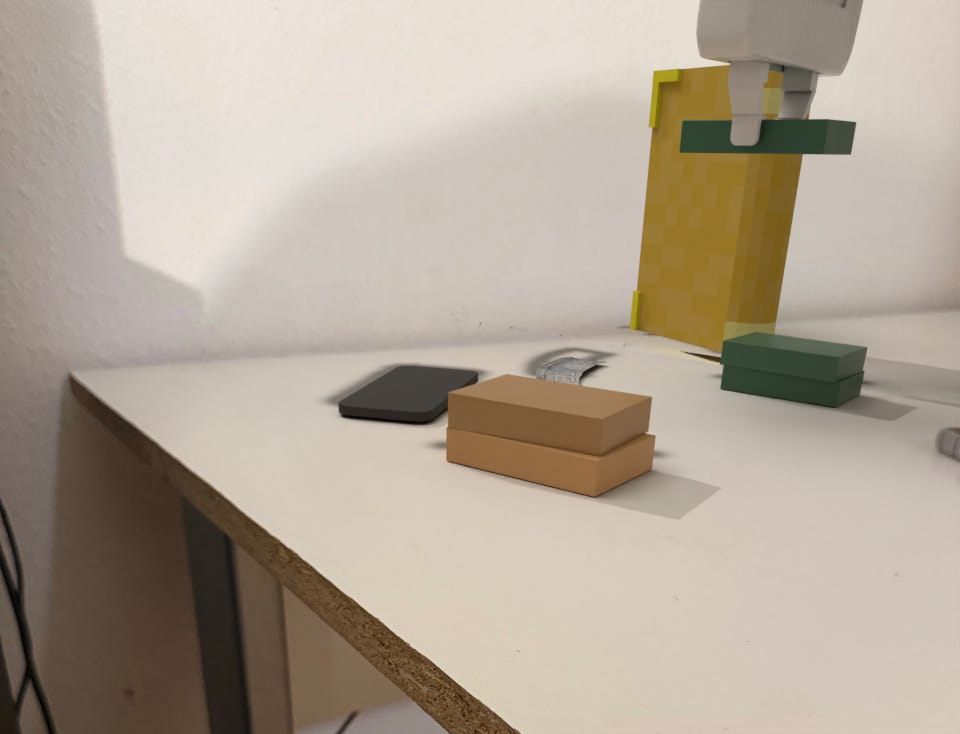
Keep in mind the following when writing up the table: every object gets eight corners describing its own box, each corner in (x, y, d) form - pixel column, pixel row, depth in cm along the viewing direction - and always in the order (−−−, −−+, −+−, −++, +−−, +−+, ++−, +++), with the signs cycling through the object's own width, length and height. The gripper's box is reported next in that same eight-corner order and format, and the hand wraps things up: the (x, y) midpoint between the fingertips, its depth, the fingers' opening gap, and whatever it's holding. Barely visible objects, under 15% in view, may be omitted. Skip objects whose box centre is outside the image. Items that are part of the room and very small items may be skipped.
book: (628, 337, 103) (653, 71, 92) (678, 334, 106) (708, 75, 95) (732, 367, 90) (776, 59, 79) (785, 362, 93) (836, 65, 82)
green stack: (860, 394, 81) (870, 346, 79) (834, 408, 76) (844, 357, 74) (745, 376, 87) (752, 331, 85) (713, 389, 82) (720, 341, 80)
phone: (332, 404, 70) (399, 364, 82) (332, 415, 70) (399, 374, 83) (428, 413, 68) (482, 371, 81) (428, 425, 68) (482, 381, 81)
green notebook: (851, 154, 66) (856, 122, 65) (822, 154, 61) (828, 119, 60) (714, 153, 71) (718, 122, 70) (678, 152, 66) (682, 120, 65)
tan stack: (655, 467, 61) (663, 398, 59) (594, 497, 55) (600, 422, 53) (510, 436, 66) (512, 372, 64) (441, 460, 61) (441, 390, 59)
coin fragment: (574, 389, 80) (575, 384, 80) (520, 382, 81) (520, 377, 81) (609, 362, 90) (609, 358, 90) (560, 357, 92) (560, 352, 92)
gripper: (794, -150, 50) (757, 145, 57) (892, -80, 65) (854, 147, 71) (683, -133, 53) (660, 144, 60) (801, -70, 68) (772, 147, 75)
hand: (766, 146), depth 66 cm, fingers closed on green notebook, 6 cm apart
